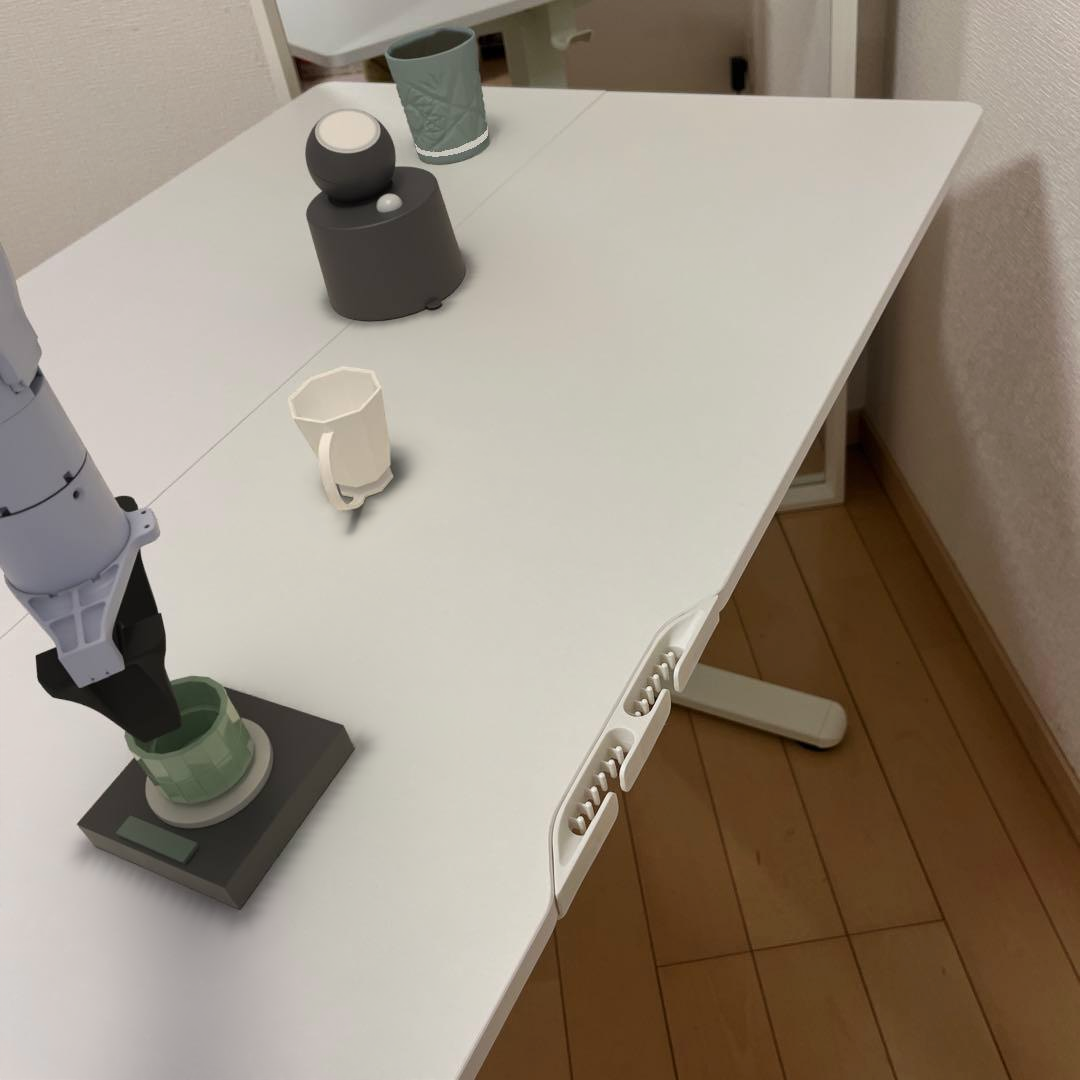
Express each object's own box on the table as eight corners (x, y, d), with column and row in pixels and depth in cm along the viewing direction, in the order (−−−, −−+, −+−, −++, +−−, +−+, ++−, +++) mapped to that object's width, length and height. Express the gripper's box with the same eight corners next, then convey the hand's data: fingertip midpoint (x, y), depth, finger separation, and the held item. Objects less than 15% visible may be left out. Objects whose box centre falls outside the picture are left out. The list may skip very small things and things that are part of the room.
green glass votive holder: (201, 825, 59) (167, 775, 56) (139, 782, 62) (104, 732, 59) (276, 750, 62) (248, 699, 59) (214, 712, 65) (184, 662, 62)
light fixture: (321, 170, 88) (249, 133, 98) (376, 340, 99) (306, 291, 108) (457, 109, 93) (376, 78, 103) (497, 277, 103) (419, 235, 113)
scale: (239, 910, 58) (220, 881, 56) (93, 845, 63) (70, 817, 61) (355, 748, 64) (340, 718, 63) (214, 701, 69) (197, 672, 68)
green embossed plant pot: (407, 172, 126) (377, 65, 118) (417, 136, 133) (391, 34, 125) (493, 158, 124) (470, 49, 116) (499, 123, 132) (478, 18, 124)
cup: (417, 446, 86) (388, 359, 80) (396, 533, 78) (364, 443, 73) (331, 456, 87) (297, 370, 82) (302, 542, 80) (264, 454, 74)
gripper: (131, 533, 43) (253, 745, 52) (97, 367, 54) (203, 566, 63) (-50, 604, 42) (107, 809, 51) (-48, 420, 53) (82, 616, 61)
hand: (151, 679), depth 57 cm, fingers open, 7 cm apart
